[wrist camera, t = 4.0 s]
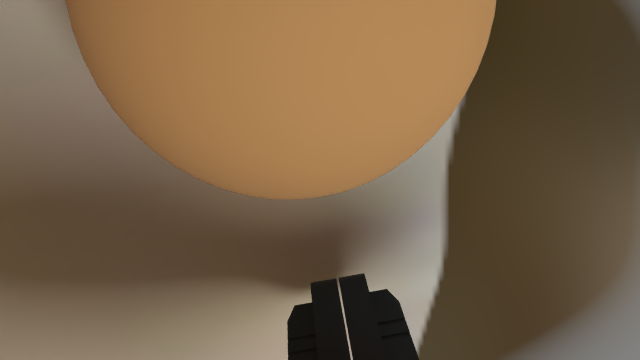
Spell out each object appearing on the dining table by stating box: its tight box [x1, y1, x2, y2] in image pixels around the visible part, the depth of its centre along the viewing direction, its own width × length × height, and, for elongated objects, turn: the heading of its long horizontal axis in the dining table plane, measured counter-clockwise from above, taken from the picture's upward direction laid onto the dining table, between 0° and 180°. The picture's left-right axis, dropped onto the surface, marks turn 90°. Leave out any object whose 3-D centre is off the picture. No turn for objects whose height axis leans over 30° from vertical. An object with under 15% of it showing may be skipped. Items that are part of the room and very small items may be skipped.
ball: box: [65, 0, 496, 200], centre depth 6 cm, size 6×6×6 cm
